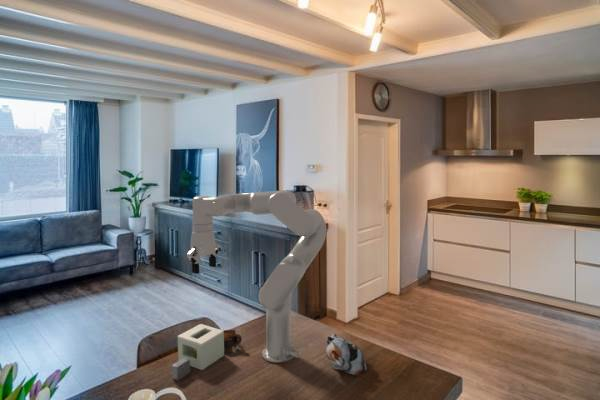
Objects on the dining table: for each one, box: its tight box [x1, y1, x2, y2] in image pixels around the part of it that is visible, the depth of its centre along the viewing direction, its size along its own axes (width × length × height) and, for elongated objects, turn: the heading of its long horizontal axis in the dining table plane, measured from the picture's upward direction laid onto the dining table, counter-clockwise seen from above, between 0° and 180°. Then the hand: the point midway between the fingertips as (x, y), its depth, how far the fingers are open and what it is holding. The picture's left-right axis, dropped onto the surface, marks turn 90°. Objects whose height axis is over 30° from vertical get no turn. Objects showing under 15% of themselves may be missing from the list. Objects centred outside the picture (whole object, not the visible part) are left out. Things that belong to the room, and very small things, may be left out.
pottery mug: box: [222, 329, 242, 353], centre depth 155 cm, size 12×10×8 cm
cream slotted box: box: [177, 323, 225, 371], centre depth 146 cm, size 12×12×10 cm
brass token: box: [193, 348, 197, 359], centre depth 146 cm, size 2×6×5 cm, turn 150°
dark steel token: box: [171, 358, 191, 381], centre depth 135 cm, size 2×6×5 cm, turn 150°
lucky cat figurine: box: [325, 333, 367, 377], centre depth 139 cm, size 15×12×14 cm
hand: (204, 269), depth 152 cm, fingers open, 9 cm apart
